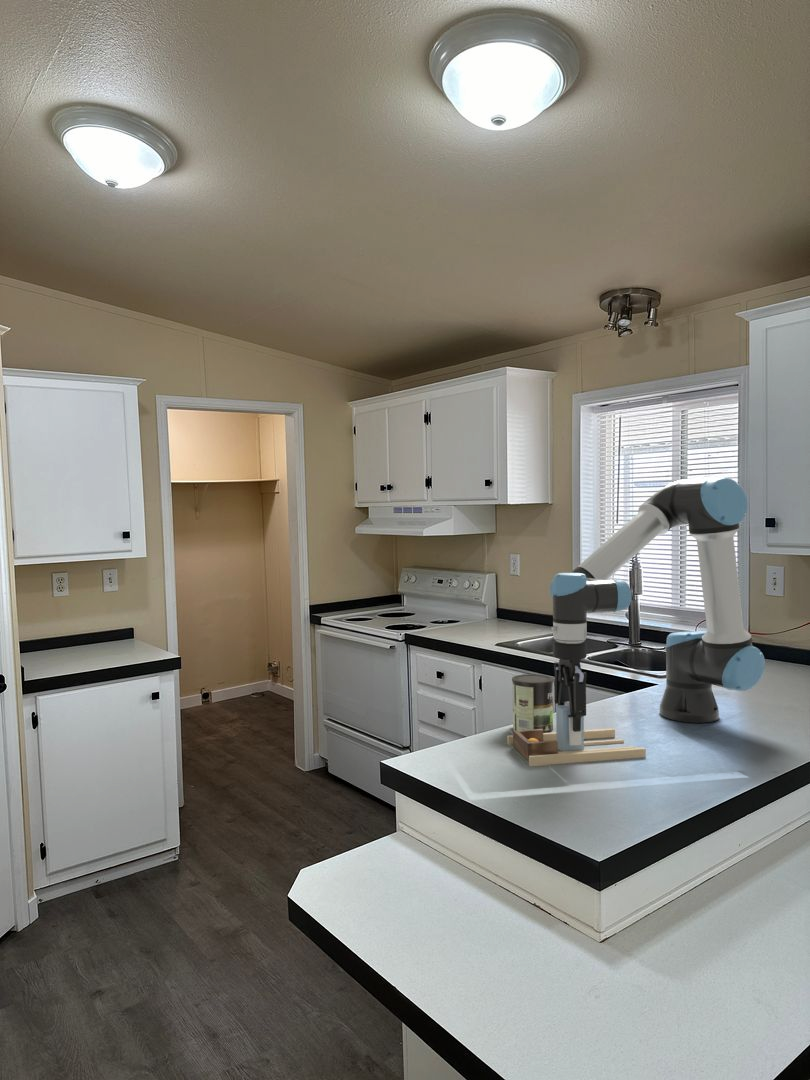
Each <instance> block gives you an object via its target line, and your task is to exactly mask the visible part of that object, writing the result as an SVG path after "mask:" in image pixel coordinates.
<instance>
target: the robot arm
mask: <svg viewBox="0 0 810 1080" xmlns="http://www.w3.org/2000/svg"><path fill="white" fill-rule="evenodd" d="M748 503H749V502H748V498H747V494H746V491H745V490H744V489H743V486H741V485H740V484H739V483H737V481H736V480H734V479H732V478H730V477H717V476H710V477H703V478H702V477H700V478H690V479H688V478H687V479H680V480H676V481H673V482H671V483H669V484H667V485H666V486H664V487H663V488H661V489H660V490H658V491H657V492H655V493H654V494H652V495H651V496H650V497H649V498H648V499H647V500H646V501H644V502H643V503H642V504H641V505H640V506H639V507H638V511H637V513H636V514H635V515H634V516H633V517H632V518H631V519H629V521H628V522H626V523H625V524H624V525H623V526H622V527H620V528H619V529H618V530H617V532H615V533H614V534H613V535H612V536H611V537H609V538H608V539H607V540H605V542H604V543H603V544H601V545H600V547H598V548H597V549H595V550H594V551H593V552H592V553H591V554H590V555H589V556H588V557H587V558H586V559H584V560H583V561H582V562H581V563H579V564H578V566H577V567H575V568H574V569H573V570H571V572H559V573H556V574H555V575H554V576H553V579H552V580H551V582H550V584H549V595H550V597H551V599H552V624H553V625H552V626H551V627H550V628H551V631H552V637H553V639H554V640H553V642H552V656H553V657H554V658H556V659H558V661H554V662H553V668H554V704H556V705H565V702H567V701H569V704H570V713H571V715H568V717H569V745H581V717H582V716H584V717H586V716H587V677H588V673H587V672H582V666H581V660H584V659H586V658H587V656H588V655H587V642H586V640H587V638H588V635H587V634H588V633H587V632H588V631H587V626H588V625H587V623H588V622H587V615H588V614H594V613H617V612H620V611H621V612H622V611H626V609H628V608H629V606H630V605H631V602H632V590H631V587H630V585H629V584H628V583H627V582H626V581H625V580H624V579H615V578H611V577H613V575H615V574H616V573H617V572H618V571H619V570H620V569H621V568H622V567H624V566H625V565H626V564H627V563H628V562H629V561H630V560H631V559H632V558H634V557H635V556H637V554H638V553H640V552H641V551H642V550H643V549H644V548H645V547H646V546H647V545H649V544H650V543H651V541H652V540H654V539H655V538H656V537H657V536H658V535H664V534H666V533H668V531H670V530H671V529H672V528H674V527H677V526H680V525H688V531H689V535H690V536H691V537H693V538H694V539H695V540H696V545H697V553H698V561H699V562H698V563H699V570H700V572H699V573H700V578H701V579H700V580H701V581H700V582H701V588H702V597H703V604H704V614H705V624H706V630H703V631H702V630H701V631H700V630H698V631H696V630H695V631H694V630H691V631H678V632H671V633H669V634H668V635H667V636H666V643H665V644H666V645H665V667H666V668H665V674H666V675H665V677H666V683H665V684H666V685H665V689H664V692H663V695H662V698H661V701H660V704H659V715H660V716H662V717H664V718H666V719H669V720H672V721H677V722H684V723H693V724H699V723H700V724H703V723H712V722H716V721H718V720H719V718H720V710H719V706H718V704H717V700H716V697H715V694H714V692H713V686H717V687H720V688H722V689H723V688H724V689H727V690H729V691H737V692H746V691H749V690H751V689H753V688H754V687H755V686H756V685H758V684H759V682H760V680H761V679H762V678H763V675H764V672H765V666H766V661H765V656H764V654H763V652H762V651H761V649H759V648H758V647H756V646H754V645H753V641H752V635H751V633H750V632H748V630H747V631H746V629H745V627H744V620H743V619H744V618H743V610H742V603H741V594H740V591H741V590H740V583H739V575H738V566H737V557H736V556H737V555H736V548H735V538H734V537H735V535H736V533H737V532H738V531H739V530H740V522H742V521H743V520H744V518H745V517H746V513H747V511H748V506H749V505H748Z"/></svg>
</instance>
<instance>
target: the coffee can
mask: <svg viewBox="0 0 810 1080" xmlns="http://www.w3.org/2000/svg"><path fill="white" fill-rule="evenodd" d="M511 681H512V726H513V727H512V729H513V731H517V730H532V729H543V733H552V732H554V731H553V730H554V709H553V708H554V707H553V706H554V704H553V703H554V698H553V697H554V696H553V694H554V693H553V689H554V688H553V684H554V683H553V682H554V677H551V676H547V675H545V674H535V673H533V674H529V673H526V674H517V675H515V676H512V677H511Z"/></svg>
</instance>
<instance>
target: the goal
mask: <svg viewBox="0 0 810 1080" xmlns="http://www.w3.org/2000/svg"><path fill="white" fill-rule="evenodd" d="M512 733H513V734H512V735H513V748H514V749H515V750H516V751H517V752H518V753H519V754H520V755H522V756H523V757H524V758H525V759H526V760H527V761H528V762H529V756H534V755H548V754H558V752H559V750H558V741H556V740H554V741H543V729H532V730H517V731H515V730H513V732H512ZM530 738H535V739H537V740H538V741H539V742H530V741H529V740H528V739H530Z"/></svg>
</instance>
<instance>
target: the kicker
mask: <svg viewBox="0 0 810 1080" xmlns="http://www.w3.org/2000/svg"><path fill="white" fill-rule="evenodd" d="M555 707H556V709H555V712H556V714H555V719H556V722H555V723H556V724H555V726H556V727H555V728H556V741H558V752H564V751H577V750H585V746H584V742H585V739H584V730H585V725H584V724H585V722H584V720H585V719H584V717H585V716H582V717H581V745H569V717H568V715H571V713H570V704H569V701H567V702H565V705H558V704H556V706H555Z"/></svg>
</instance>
